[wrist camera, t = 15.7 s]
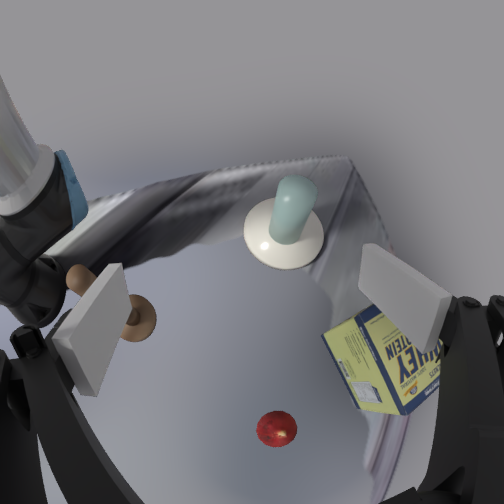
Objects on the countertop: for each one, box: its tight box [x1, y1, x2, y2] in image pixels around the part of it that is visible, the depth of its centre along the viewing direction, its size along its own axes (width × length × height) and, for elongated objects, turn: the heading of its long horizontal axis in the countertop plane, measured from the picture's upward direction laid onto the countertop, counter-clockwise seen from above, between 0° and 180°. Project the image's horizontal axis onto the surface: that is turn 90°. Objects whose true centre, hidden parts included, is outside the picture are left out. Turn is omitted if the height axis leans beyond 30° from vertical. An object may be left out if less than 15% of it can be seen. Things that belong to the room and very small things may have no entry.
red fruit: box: [256, 411, 297, 447], centre depth 33 cm, size 6×6×8 cm
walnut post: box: [66, 264, 156, 342], centre depth 34 cm, size 8×8×20 cm
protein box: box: [321, 303, 443, 416], centre depth 35 cm, size 10×16×16 cm
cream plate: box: [244, 198, 324, 270], centre depth 51 cm, size 15×15×1 cm
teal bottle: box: [269, 175, 318, 245], centre depth 45 cm, size 6×6×12 cm
